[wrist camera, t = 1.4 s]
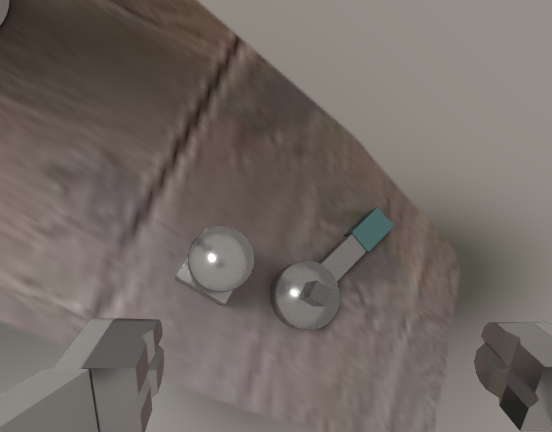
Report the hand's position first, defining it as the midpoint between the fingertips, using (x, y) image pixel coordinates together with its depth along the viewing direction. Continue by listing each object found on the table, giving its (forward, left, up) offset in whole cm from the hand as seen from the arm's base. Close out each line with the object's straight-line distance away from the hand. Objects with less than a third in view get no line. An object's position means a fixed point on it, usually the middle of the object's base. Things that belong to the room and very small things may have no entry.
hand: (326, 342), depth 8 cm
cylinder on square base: (-3, +4, -28) cm, 28 cm away
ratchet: (+9, +12, -28) cm, 31 cm away
